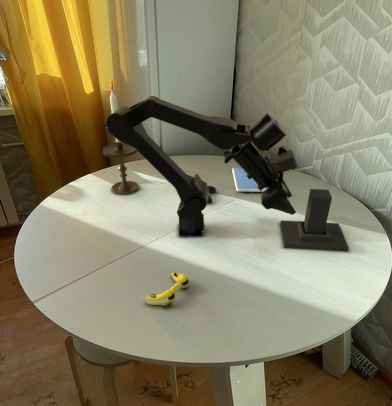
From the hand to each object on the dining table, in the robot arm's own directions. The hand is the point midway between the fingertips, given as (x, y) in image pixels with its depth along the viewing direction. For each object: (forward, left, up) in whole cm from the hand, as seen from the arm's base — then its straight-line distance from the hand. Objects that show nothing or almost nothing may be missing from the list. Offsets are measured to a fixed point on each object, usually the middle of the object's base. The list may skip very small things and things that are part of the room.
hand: (292, 204), depth 91 cm
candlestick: (-49, +32, -10) cm, 59 cm away
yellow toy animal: (-32, -22, -10) cm, 40 cm away
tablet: (-4, +36, -9) cm, 37 cm away
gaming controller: (-22, +24, -10) cm, 34 cm away
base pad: (+6, -1, -10) cm, 12 cm away
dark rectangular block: (+7, -1, -8) cm, 11 cm away
